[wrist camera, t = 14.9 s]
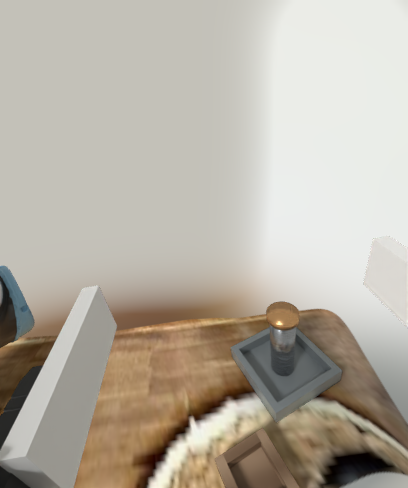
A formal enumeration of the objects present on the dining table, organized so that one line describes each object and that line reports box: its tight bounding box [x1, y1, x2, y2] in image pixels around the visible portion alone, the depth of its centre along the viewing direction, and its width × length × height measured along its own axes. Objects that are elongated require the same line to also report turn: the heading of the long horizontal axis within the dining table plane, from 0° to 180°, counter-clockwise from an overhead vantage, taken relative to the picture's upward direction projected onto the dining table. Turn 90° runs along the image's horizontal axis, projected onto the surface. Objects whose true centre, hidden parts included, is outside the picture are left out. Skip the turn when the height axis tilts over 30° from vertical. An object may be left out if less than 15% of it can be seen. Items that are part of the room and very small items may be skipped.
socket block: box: [215, 428, 299, 488], centre depth 30 cm, size 7×7×2 cm
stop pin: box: [266, 302, 300, 376], centre depth 39 cm, size 4×4×12 cm
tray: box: [231, 327, 342, 423], centre depth 41 cm, size 12×12×2 cm
